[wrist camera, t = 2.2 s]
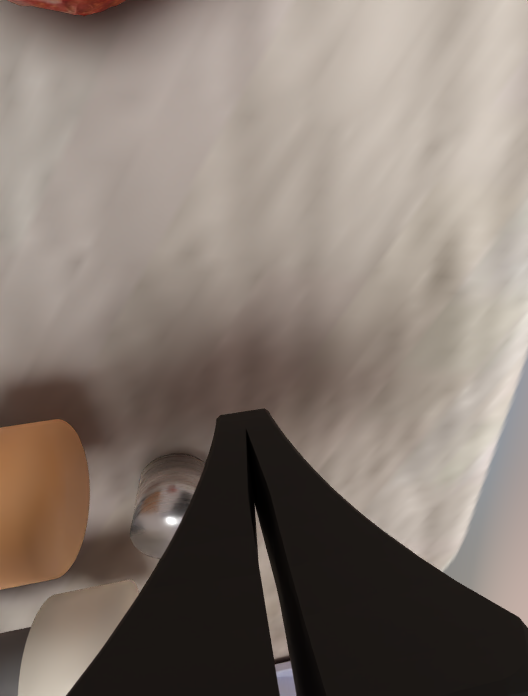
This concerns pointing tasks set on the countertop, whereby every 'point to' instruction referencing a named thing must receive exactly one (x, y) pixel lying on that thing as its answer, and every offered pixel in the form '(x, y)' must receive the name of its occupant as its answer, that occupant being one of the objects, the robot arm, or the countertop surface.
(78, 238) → the countertop surface
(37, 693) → the cream knob
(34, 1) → the pomegranate
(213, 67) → the countertop surface
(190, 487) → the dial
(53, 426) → the orange knob
